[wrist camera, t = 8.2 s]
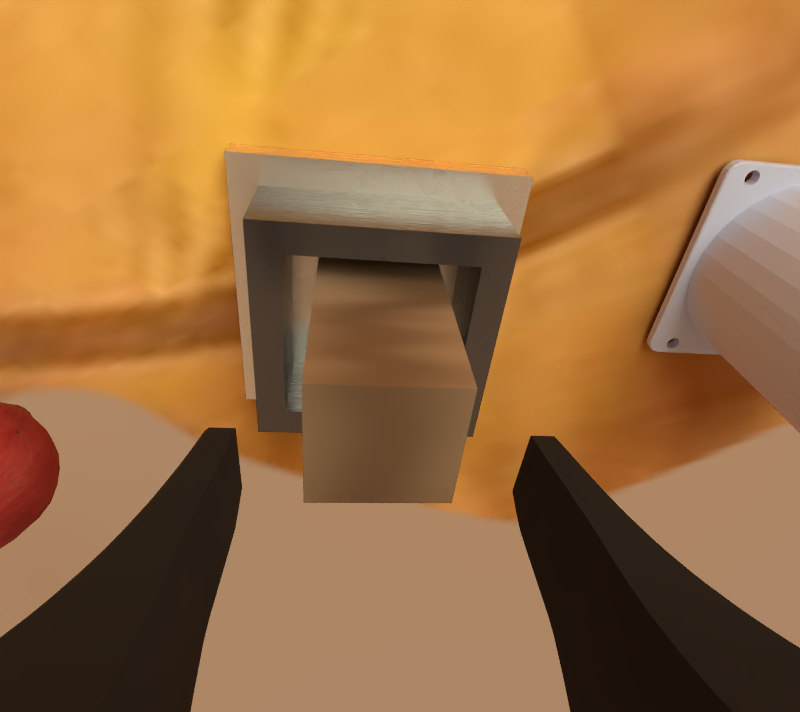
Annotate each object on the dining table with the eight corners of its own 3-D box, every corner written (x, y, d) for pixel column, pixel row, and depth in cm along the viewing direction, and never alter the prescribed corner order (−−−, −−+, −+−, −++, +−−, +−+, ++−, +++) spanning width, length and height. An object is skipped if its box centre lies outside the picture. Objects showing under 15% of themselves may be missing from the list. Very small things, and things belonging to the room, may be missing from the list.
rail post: (433, 249, 18) (477, 388, 12) (420, 342, 21) (451, 502, 14) (320, 242, 18) (301, 383, 11) (320, 338, 20) (303, 502, 14)
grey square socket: (525, 169, 18) (563, 207, 15) (473, 391, 24) (492, 455, 20) (230, 143, 17) (200, 179, 14) (250, 384, 23) (232, 450, 19)
